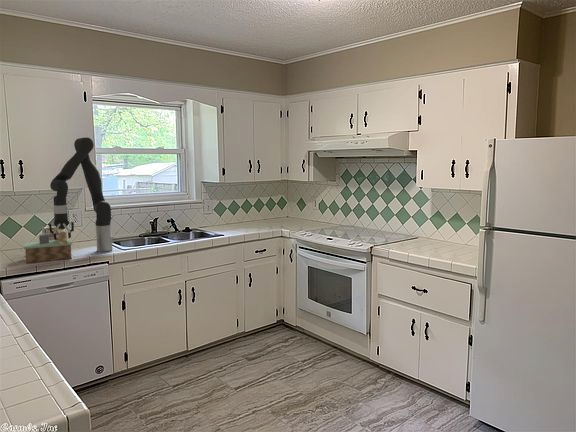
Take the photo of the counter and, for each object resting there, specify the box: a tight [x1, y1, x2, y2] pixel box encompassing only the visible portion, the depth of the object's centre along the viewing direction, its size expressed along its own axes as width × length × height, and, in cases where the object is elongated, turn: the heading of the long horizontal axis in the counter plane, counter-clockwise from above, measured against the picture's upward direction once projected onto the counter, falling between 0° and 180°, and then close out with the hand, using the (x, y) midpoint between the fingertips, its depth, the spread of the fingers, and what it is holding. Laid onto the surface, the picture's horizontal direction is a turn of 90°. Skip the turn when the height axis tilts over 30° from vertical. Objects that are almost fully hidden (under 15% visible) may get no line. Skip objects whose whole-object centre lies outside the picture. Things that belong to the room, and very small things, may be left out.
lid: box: [23, 234, 73, 249], centre depth 274 cm, size 25×15×6 cm, turn 119°
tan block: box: [58, 229, 68, 244], centre depth 277 cm, size 4×16×6 cm, turn 29°
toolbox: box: [24, 245, 72, 265], centre depth 275 cm, size 24×14×9 cm, turn 119°
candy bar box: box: [41, 225, 63, 241], centre depth 297 cm, size 11×5×16 cm, turn 141°
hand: (62, 238), depth 277 cm, fingers open, 7 cm apart
